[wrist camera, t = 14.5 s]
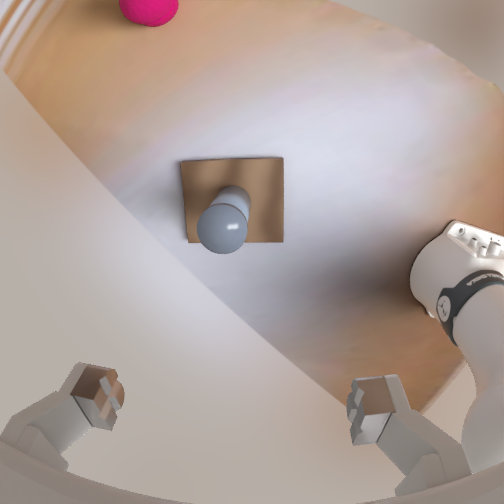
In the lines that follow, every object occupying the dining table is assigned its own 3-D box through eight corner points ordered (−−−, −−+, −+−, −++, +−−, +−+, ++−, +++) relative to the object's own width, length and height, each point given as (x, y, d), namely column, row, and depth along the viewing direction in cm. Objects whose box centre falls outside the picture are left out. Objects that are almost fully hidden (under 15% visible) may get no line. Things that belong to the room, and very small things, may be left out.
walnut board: (283, 157, 42) (283, 159, 41) (282, 238, 47) (283, 242, 46) (183, 161, 43) (180, 162, 42) (190, 238, 48) (188, 242, 47)
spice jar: (251, 183, 42) (245, 204, 32) (253, 220, 45) (248, 253, 34) (212, 185, 43) (193, 207, 33) (215, 222, 45) (199, 254, 35)
